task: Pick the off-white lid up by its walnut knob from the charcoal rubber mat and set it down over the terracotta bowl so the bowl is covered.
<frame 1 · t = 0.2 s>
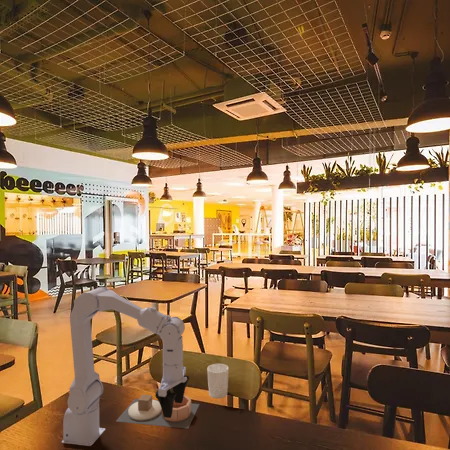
hand: (173, 409, 94), 10 cm above the table, tool pointing down, fingers open, 7 cm apart
bowl: (176, 413, 109), resting on mat
white cup: (218, 395, 121), on the table
mat: (159, 413, 110), on the table
lid: (145, 411, 110), resting on mat
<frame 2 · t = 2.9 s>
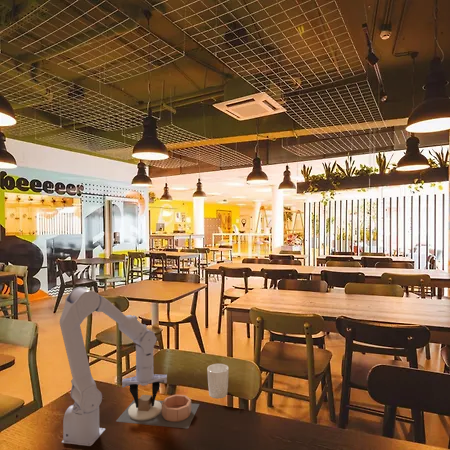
hand: (145, 405, 110), 2 cm above the table, tool pointing down, fingers closed on lid, 4 cm apart
lid: (145, 411, 110), resting on mat, touching gripper
everything else where it was.
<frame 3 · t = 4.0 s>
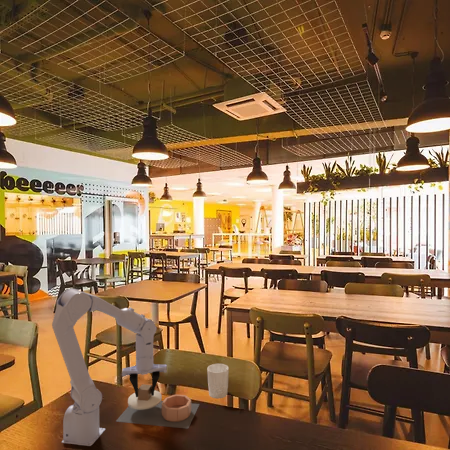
hand: (144, 394, 110), 6 cm above the table, tool pointing down, fingers closed on lid, 4 cm apart
lid: (145, 400, 110), point 4 cm above the table, touching gripper
everything else where it was.
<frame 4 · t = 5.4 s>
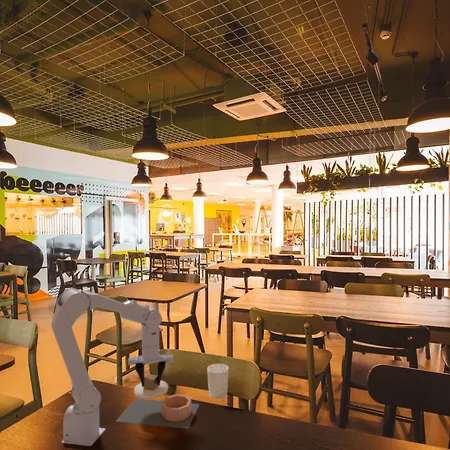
hand: (151, 384, 110), 9 cm above the table, tool pointing down, fingers closed on lid, 4 cm apart
lid: (151, 390, 110), point 8 cm above the table, touching gripper
everything else where it was.
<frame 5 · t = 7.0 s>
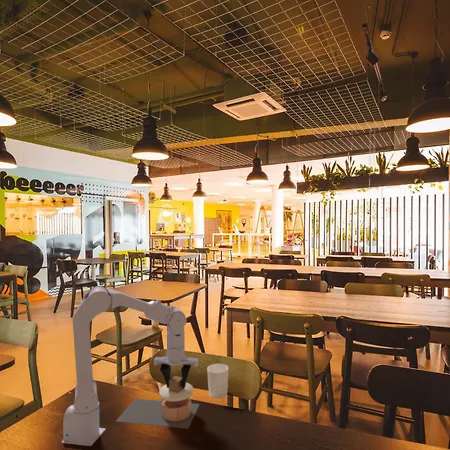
hand: (176, 386, 109), 9 cm above the table, tool pointing down, fingers closed on lid, 4 cm apart
lid: (176, 392, 109), point 7 cm above the table, touching gripper
everything else where it was.
when the fingers open (7 cm above the table, at t = 8.3 s): lid stays where it is, resting on bowl.
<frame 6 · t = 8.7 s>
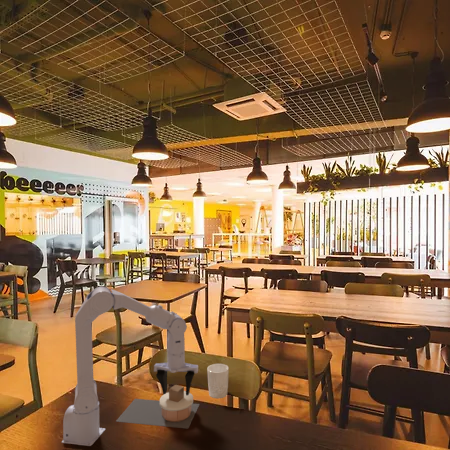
hand: (176, 393, 109), 7 cm above the table, tool pointing down, fingers open, 7 cm apart
lid: (176, 401, 109), point 4 cm above the table, touching bowl
everything else where it was.
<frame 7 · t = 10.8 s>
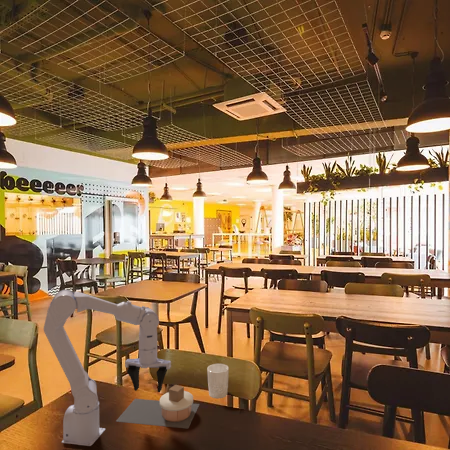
hand: (148, 389, 105), 10 cm above the table, tool pointing down, fingers open, 7 cm apart
nothing on the table moved.
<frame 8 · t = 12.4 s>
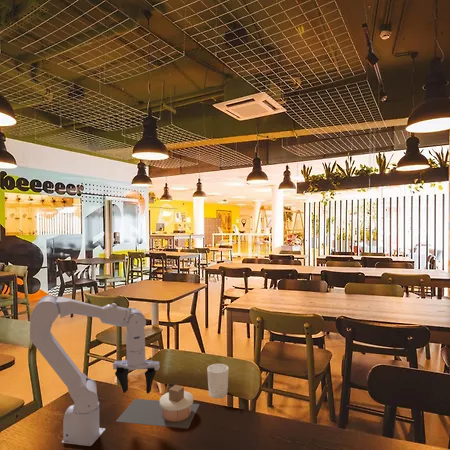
hand: (137, 391, 104), 10 cm above the table, tool pointing down, fingers open, 7 cm apart
nothing on the table moved.
at the end: lid 0.0 cm off-centre on the bowl, point 4.0 cm above the bowl's base; lid tilted 0°; the gripper is holding nothing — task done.
